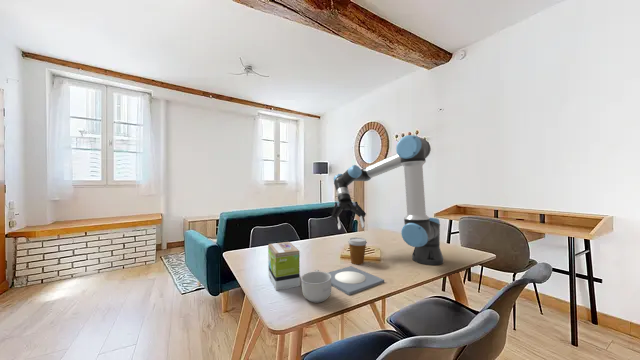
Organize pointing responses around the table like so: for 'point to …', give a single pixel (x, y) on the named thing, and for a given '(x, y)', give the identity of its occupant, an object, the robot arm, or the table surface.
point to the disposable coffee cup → (357, 250)
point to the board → (353, 280)
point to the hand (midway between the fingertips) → (351, 227)
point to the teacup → (316, 286)
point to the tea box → (284, 265)
